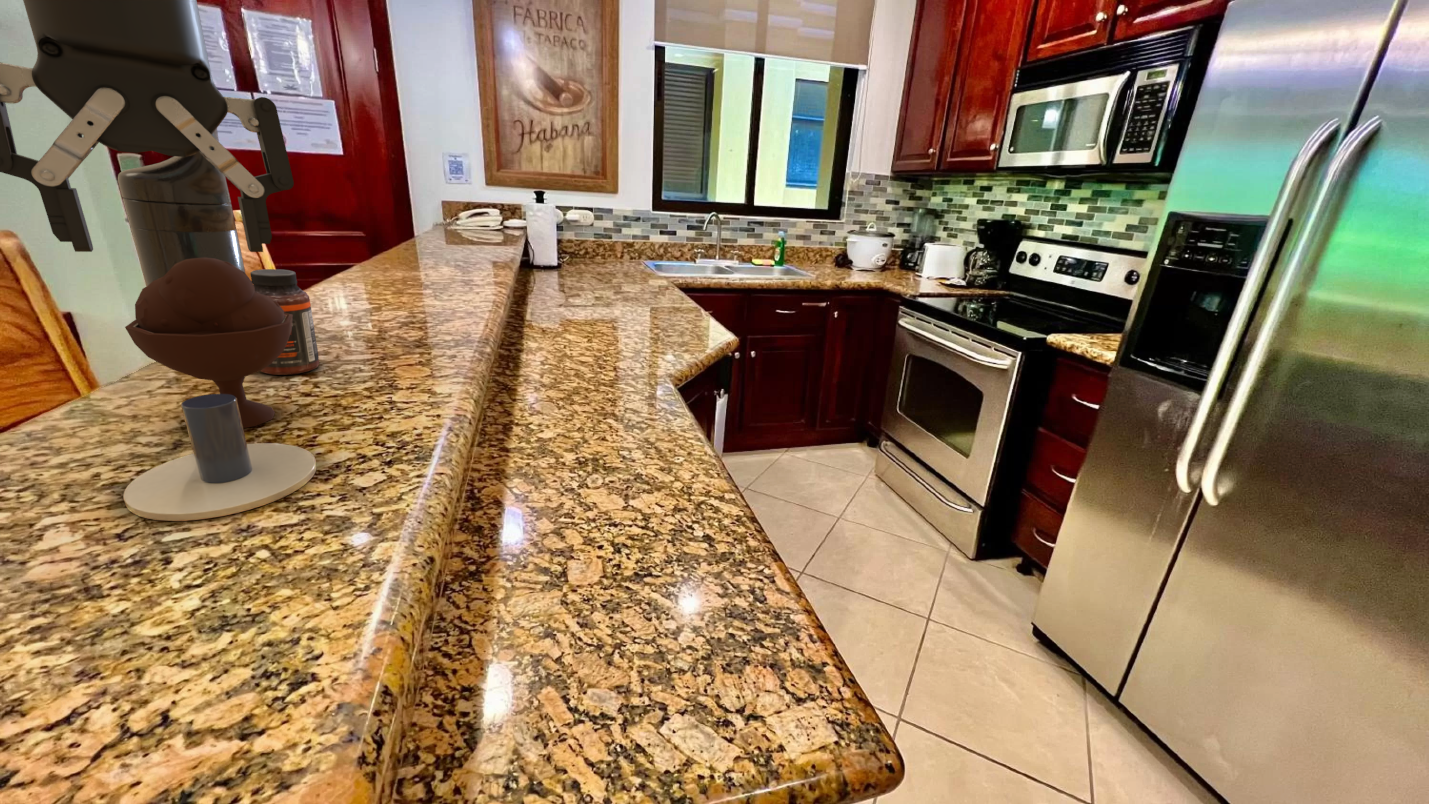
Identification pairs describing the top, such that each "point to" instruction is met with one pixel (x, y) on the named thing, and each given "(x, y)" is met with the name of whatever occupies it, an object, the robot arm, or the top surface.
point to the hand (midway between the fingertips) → (176, 250)
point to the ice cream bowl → (212, 328)
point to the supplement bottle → (302, 338)
